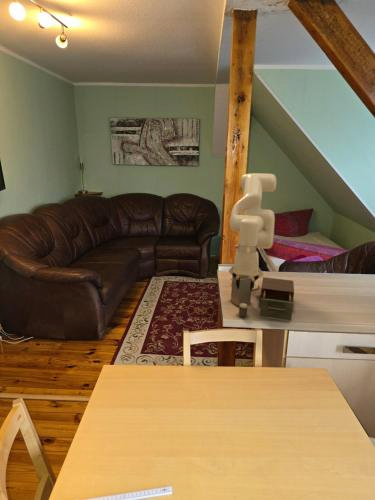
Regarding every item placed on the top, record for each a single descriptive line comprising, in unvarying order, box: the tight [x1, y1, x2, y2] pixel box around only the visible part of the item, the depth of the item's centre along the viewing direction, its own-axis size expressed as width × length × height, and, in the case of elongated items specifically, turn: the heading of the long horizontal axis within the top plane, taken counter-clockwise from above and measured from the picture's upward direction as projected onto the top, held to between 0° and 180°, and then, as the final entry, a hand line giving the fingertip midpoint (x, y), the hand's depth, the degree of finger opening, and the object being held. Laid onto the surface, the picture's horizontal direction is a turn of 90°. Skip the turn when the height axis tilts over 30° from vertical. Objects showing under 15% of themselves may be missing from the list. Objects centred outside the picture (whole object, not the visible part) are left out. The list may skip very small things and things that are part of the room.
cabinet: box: [259, 276, 295, 306], centre depth 160 cm, size 15×15×10 cm
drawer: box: [259, 290, 294, 322], centre depth 147 cm, size 18×13×8 cm
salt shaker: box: [238, 303, 248, 319], centre depth 147 cm, size 4×4×6 cm
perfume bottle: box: [230, 274, 252, 307], centre depth 159 cm, size 7×7×18 cm
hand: (244, 288), depth 144 cm, fingers open, 4 cm apart
